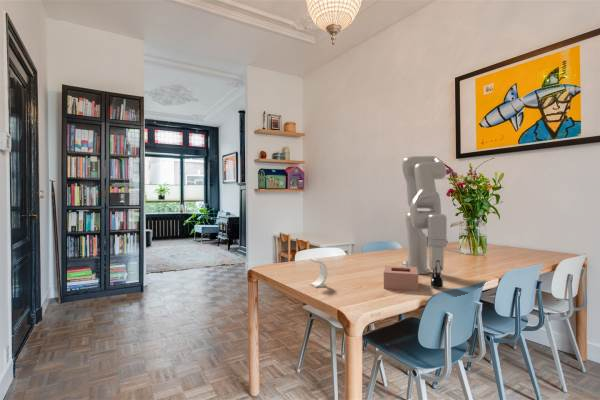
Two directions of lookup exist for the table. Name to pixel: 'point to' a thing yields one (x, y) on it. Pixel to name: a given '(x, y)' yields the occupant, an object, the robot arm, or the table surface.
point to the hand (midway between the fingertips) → (436, 284)
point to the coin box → (401, 278)
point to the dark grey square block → (432, 283)
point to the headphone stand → (322, 276)
